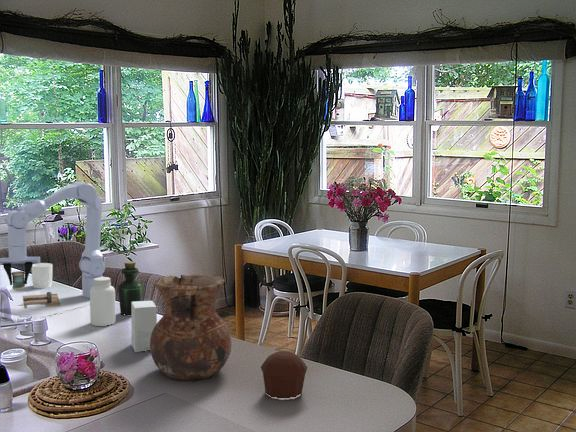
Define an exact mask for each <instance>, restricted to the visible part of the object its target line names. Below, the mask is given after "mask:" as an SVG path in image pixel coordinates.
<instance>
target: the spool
mask: <svg viewBox="0 0 576 432" xmlns="http://www.w3.org/2000/svg"><path fill="white" fill-rule="evenodd" d="M11 275H12V290H16V291H17V290H20V291H21V290H24V289H26V284H25V270H24V271H22V270H17V271H13V272H12V271H11Z"/></svg>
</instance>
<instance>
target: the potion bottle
mask: <svg viewBox="0 0 576 432" xmlns="http://www.w3.org/2000/svg"><path fill="white" fill-rule="evenodd" d="M123 264H124V268H122V269H121V272H120V273H121V274H123V275H124V278H125V279H124V281H122V282H120V283H119V285H118V286H117V290H118V301H119V309H120V310H119V311H120V314H121V315H122V314H125V315H131V302H135V301H142V295H143V294H142V290H143V285H142V283H141V282H139V281H137V280H135V277H136V274H138V273H139V272H140V271H139V269H138V267H135V266H136V261H133V260H132V261H124V263H123Z"/></svg>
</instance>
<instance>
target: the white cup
mask: <svg viewBox="0 0 576 432" xmlns="http://www.w3.org/2000/svg"><path fill="white" fill-rule="evenodd" d="M31 280H32V287H33V288H34V289H47V288H51V287H52V283H53V263H50V262H49V263H48V262H40V263H32V268H31Z"/></svg>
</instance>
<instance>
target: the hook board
mask: <svg viewBox="0 0 576 432" xmlns="http://www.w3.org/2000/svg"><path fill="white" fill-rule="evenodd" d="M22 301H23V308H24V309H28V305H38V304H39V305H40V304H44V306H45V307H47V308H49V307H60V306H62V304H61V301H60V298H59V295H58V293H52V291H47V292H46V294H33V295H32V294H31V295H22Z"/></svg>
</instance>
